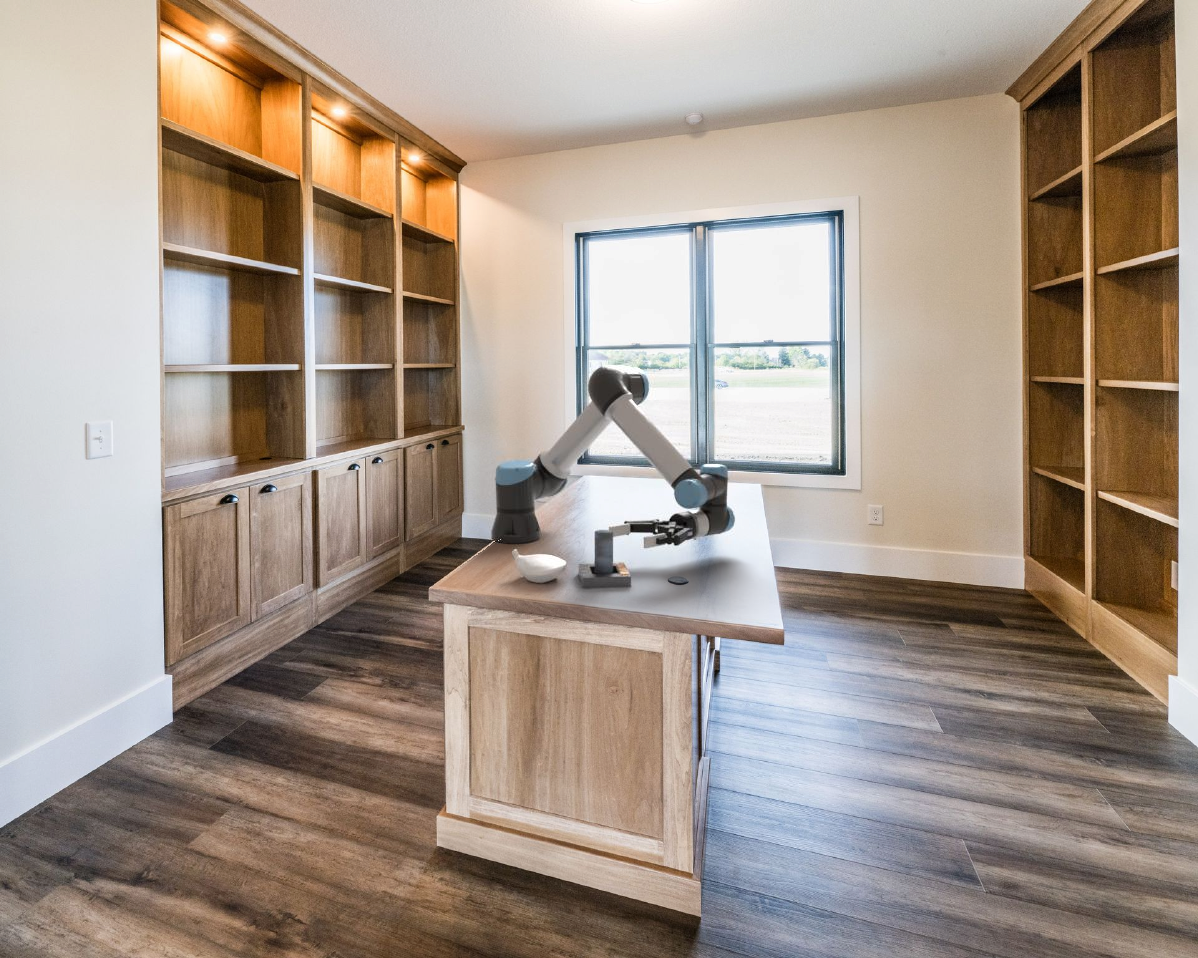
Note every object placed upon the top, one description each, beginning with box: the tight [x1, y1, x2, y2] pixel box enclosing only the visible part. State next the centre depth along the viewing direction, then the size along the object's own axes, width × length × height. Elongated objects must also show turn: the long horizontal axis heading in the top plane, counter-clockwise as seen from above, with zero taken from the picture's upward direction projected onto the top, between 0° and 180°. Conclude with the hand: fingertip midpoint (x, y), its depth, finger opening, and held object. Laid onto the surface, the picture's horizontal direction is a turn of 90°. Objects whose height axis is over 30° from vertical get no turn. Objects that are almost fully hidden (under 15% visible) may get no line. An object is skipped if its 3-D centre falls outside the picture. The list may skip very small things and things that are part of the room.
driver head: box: [511, 549, 568, 584], centre depth 157 cm, size 10×11×12 cm
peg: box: [594, 529, 614, 574], centre depth 157 cm, size 4×4×12 cm
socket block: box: [578, 562, 632, 589], centre depth 158 cm, size 12×12×3 cm
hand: (626, 537), depth 160 cm, fingers open, 13 cm apart
